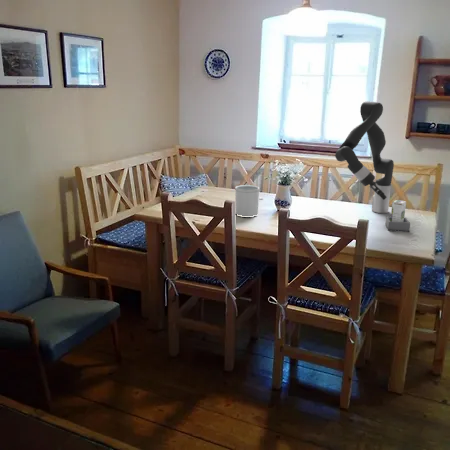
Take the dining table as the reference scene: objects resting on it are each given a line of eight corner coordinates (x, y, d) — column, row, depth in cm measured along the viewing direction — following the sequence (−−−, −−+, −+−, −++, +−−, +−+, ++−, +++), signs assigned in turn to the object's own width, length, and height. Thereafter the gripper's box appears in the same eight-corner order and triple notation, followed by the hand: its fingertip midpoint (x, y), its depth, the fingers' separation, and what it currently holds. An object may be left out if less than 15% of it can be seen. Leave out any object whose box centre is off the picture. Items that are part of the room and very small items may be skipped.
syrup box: (393, 224, 265) (395, 199, 261) (403, 226, 262) (406, 201, 258) (389, 226, 261) (392, 201, 257) (400, 228, 258) (402, 203, 254)
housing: (387, 230, 257) (388, 222, 256) (385, 225, 268) (386, 216, 266) (409, 231, 256) (410, 222, 254) (405, 226, 266) (406, 217, 264)
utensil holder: (252, 211, 300) (252, 184, 295) (263, 216, 286) (263, 188, 282) (231, 213, 294) (231, 186, 289) (241, 219, 281) (241, 190, 276)
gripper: (371, 173, 249) (391, 195, 250) (368, 168, 262) (387, 189, 264) (360, 182, 251) (380, 204, 253) (357, 177, 265) (377, 198, 266)
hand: (384, 196), depth 258 cm, fingers open, 8 cm apart
